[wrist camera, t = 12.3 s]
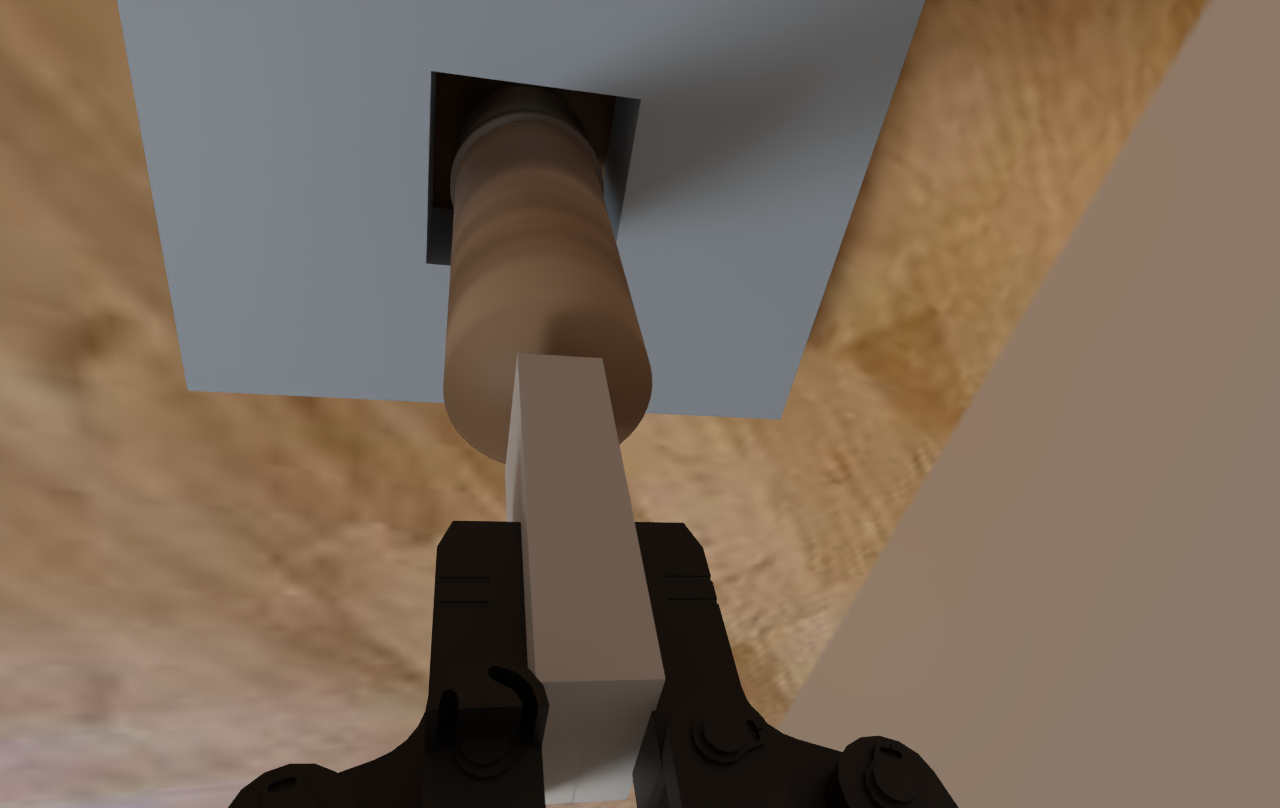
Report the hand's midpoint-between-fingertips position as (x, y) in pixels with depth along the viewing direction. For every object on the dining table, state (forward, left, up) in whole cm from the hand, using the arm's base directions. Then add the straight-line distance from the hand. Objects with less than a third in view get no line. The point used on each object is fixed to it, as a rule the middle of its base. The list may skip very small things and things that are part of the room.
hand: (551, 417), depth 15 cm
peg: (0, 0, -15) cm, 15 cm away
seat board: (0, 0, -15) cm, 15 cm away
